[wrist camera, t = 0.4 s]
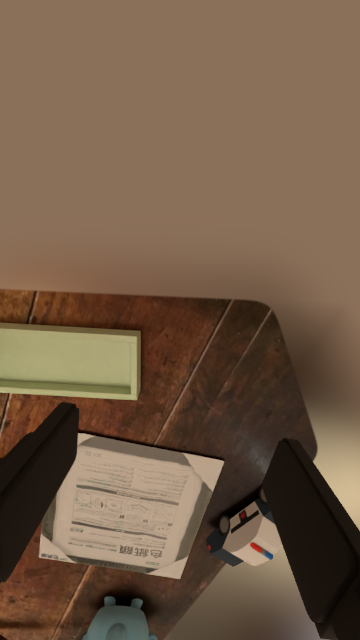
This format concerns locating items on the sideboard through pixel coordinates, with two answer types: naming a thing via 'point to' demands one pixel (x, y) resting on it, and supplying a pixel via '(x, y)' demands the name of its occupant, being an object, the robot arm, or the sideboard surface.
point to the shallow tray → (70, 361)
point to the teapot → (119, 623)
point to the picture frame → (129, 507)
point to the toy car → (246, 535)
